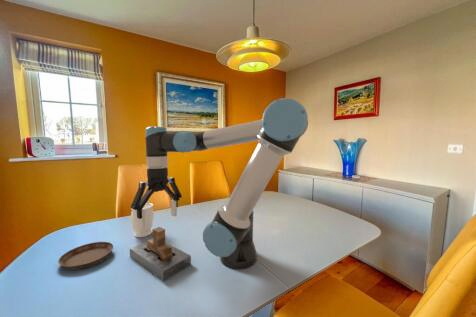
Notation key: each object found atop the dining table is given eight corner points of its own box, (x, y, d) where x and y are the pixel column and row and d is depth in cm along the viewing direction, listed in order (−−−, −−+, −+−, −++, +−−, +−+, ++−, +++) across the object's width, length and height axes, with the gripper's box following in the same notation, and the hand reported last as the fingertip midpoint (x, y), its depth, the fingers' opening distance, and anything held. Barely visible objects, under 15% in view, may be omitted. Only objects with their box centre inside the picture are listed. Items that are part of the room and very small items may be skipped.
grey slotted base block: (190, 264, 78) (190, 255, 78) (163, 281, 68) (163, 271, 68) (156, 245, 92) (156, 237, 92) (129, 256, 83) (129, 248, 82)
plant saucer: (45, 274, 72) (44, 266, 71) (80, 248, 89) (80, 242, 89) (97, 272, 73) (96, 264, 73) (121, 247, 91) (121, 240, 90)
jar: (145, 239, 97) (144, 209, 96) (126, 237, 99) (125, 208, 98) (158, 230, 108) (157, 203, 106) (141, 228, 110) (140, 201, 108)
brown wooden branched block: (173, 263, 78) (172, 231, 77) (163, 268, 75) (163, 235, 74) (155, 253, 86) (154, 223, 85) (146, 257, 82) (145, 226, 81)
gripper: (178, 163, 89) (179, 210, 91) (118, 170, 70) (121, 229, 71) (189, 164, 85) (190, 213, 87) (128, 171, 65) (131, 234, 67)
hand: (159, 220), depth 79 cm, fingers open, 13 cm apart
